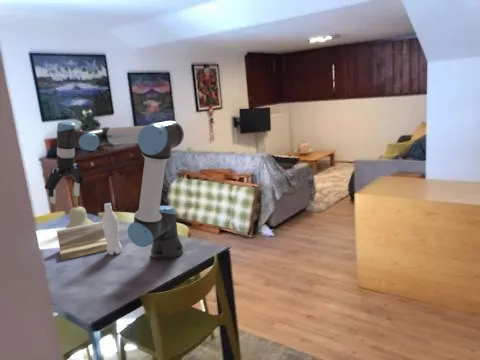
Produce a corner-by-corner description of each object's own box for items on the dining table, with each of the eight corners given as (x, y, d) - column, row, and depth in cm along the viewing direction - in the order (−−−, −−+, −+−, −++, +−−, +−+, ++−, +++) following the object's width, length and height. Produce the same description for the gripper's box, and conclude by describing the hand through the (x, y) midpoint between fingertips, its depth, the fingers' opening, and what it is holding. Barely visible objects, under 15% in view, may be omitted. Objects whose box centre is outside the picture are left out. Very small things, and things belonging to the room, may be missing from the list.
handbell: (67, 226, 246) (60, 186, 240) (94, 222, 250) (87, 182, 244) (65, 234, 231) (57, 192, 226) (93, 230, 236) (86, 188, 230)
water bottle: (106, 256, 196) (99, 206, 190) (107, 251, 203) (100, 202, 197) (122, 254, 198) (115, 204, 192) (122, 248, 205) (115, 200, 199)
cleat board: (108, 249, 205) (105, 228, 202) (61, 260, 196) (57, 238, 193) (105, 241, 217) (102, 221, 215) (60, 250, 208) (56, 230, 206)
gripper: (81, 149, 199) (80, 190, 206) (35, 158, 177) (36, 203, 184) (92, 153, 196) (91, 194, 203) (47, 162, 174) (47, 208, 181)
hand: (65, 199), depth 193 cm, fingers open, 13 cm apart
